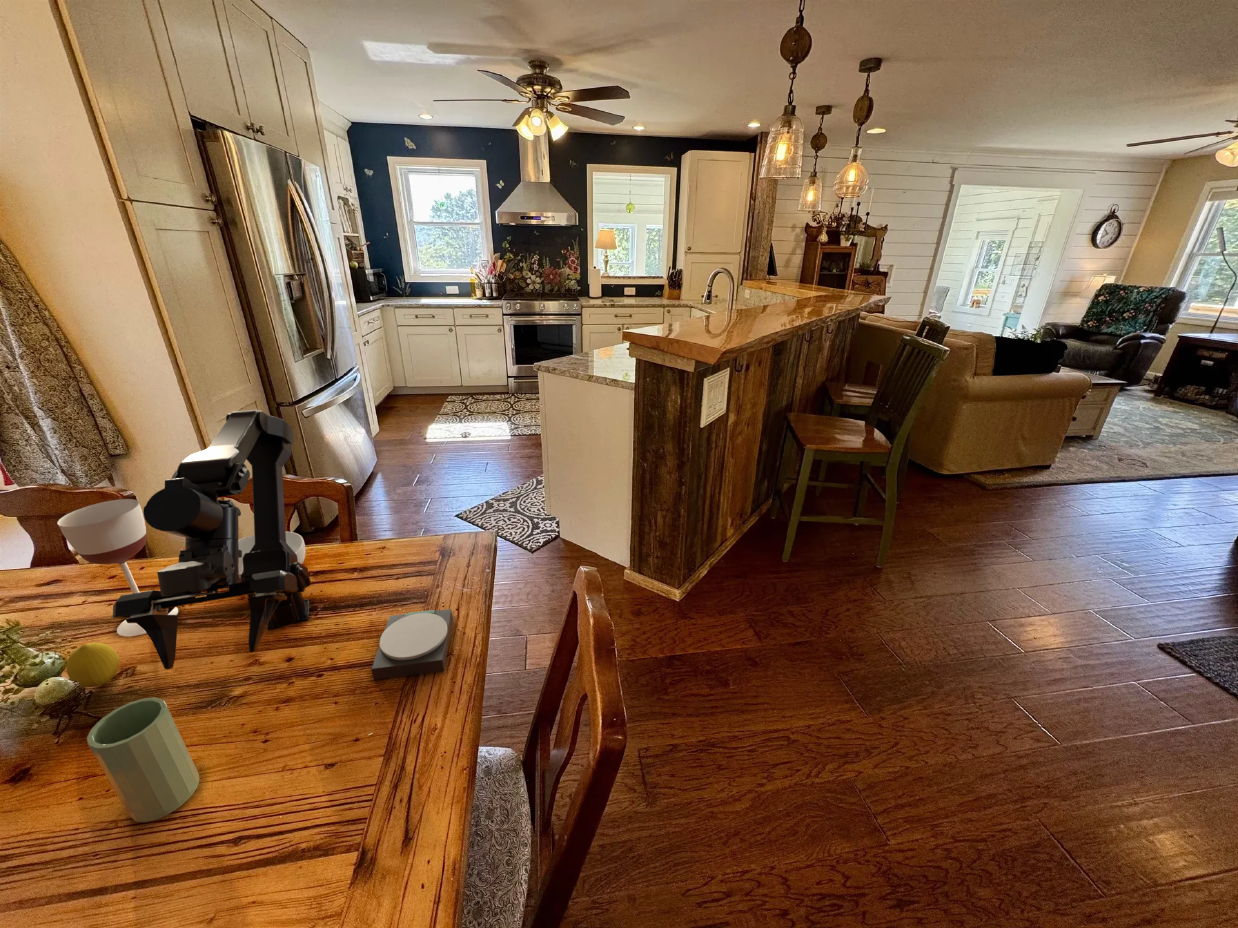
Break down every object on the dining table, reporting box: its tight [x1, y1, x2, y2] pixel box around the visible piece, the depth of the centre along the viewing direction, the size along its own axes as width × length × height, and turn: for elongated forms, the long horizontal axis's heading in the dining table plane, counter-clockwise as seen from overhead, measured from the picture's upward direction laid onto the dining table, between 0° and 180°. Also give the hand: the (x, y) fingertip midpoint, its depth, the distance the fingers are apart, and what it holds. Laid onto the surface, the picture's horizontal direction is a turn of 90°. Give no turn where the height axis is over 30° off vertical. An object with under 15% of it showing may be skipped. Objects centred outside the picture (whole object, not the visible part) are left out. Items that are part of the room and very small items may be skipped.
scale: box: [370, 608, 454, 681], centre depth 86 cm, size 13×11×3 cm
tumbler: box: [86, 697, 201, 823], centre depth 60 cm, size 7×7×13 cm
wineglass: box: [57, 498, 179, 637], centre depth 88 cm, size 9×10×23 cm
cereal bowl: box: [225, 530, 307, 591], centre depth 103 cm, size 17×17×7 cm
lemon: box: [65, 642, 121, 688], centre depth 77 cm, size 6×6×8 cm
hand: (211, 660), depth 65 cm, fingers open, 9 cm apart
